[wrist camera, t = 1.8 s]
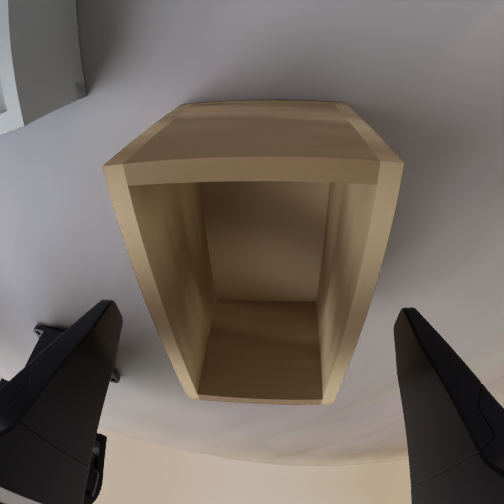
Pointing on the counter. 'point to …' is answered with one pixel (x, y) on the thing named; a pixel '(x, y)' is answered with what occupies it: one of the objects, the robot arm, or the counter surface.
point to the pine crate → (257, 242)
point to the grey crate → (38, 60)
